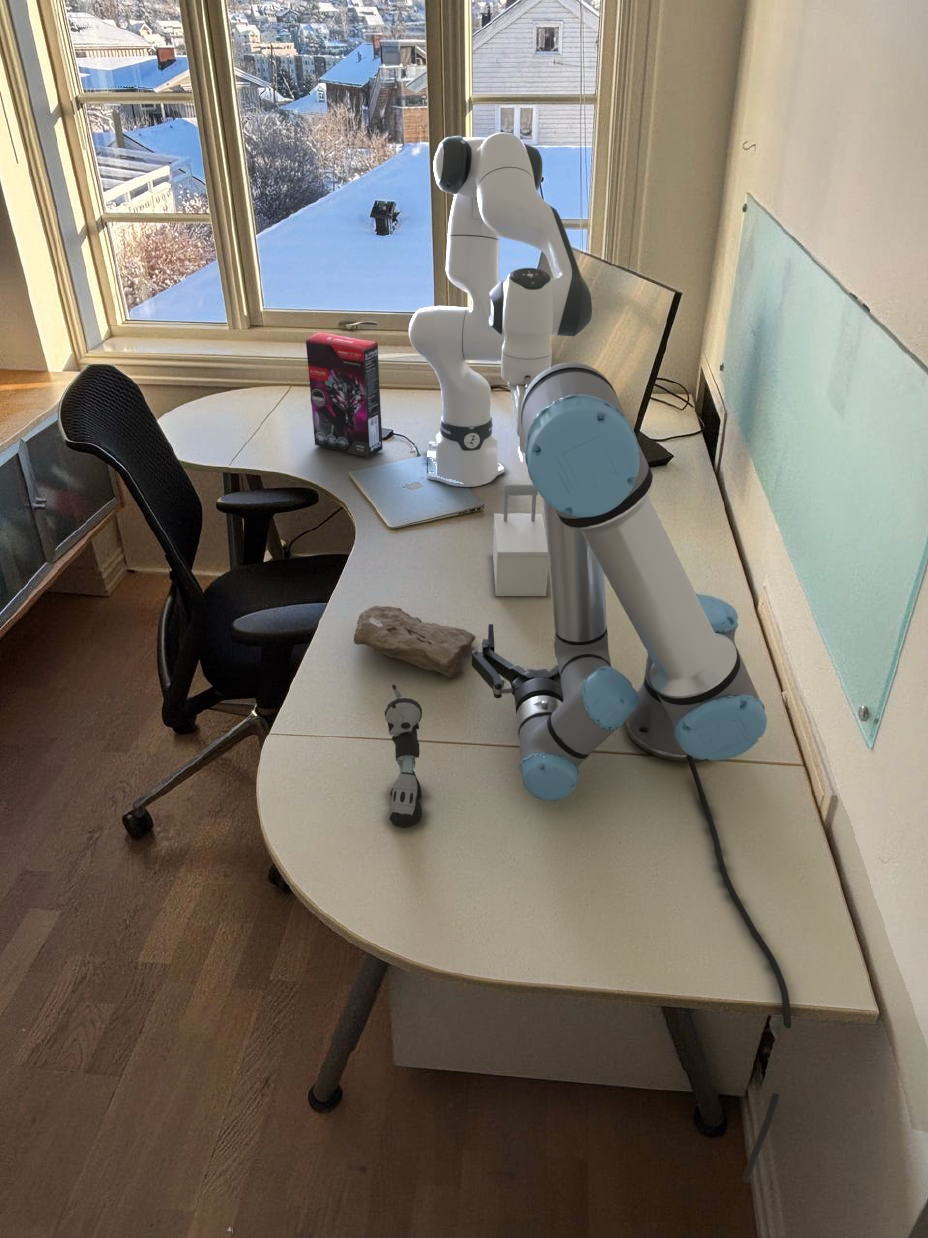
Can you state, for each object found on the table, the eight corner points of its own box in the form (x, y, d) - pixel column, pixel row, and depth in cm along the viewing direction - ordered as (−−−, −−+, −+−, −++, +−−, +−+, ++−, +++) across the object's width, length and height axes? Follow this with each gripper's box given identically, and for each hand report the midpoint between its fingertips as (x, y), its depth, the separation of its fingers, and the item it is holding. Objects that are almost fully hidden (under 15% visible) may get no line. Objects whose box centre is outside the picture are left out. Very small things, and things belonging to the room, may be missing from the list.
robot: (425, 859, 121) (422, 744, 110) (387, 860, 121) (381, 745, 110) (423, 757, 137) (420, 648, 126) (390, 758, 137) (385, 649, 126)
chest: (492, 557, 187) (494, 519, 183) (539, 557, 188) (542, 519, 183) (495, 596, 175) (497, 556, 170) (546, 596, 175) (548, 556, 170)
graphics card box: (312, 446, 233) (302, 338, 217) (328, 436, 238) (320, 330, 223) (369, 459, 226) (363, 349, 211) (384, 449, 231) (380, 341, 216)
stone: (330, 651, 154) (336, 619, 151) (363, 622, 167) (369, 592, 165) (447, 693, 150) (456, 661, 148) (471, 659, 164) (479, 629, 161)
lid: (493, 517, 183) (495, 477, 178) (542, 517, 183) (544, 477, 178) (497, 556, 170) (498, 514, 165) (548, 556, 170) (551, 514, 166)
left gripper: (549, 388, 154) (544, 464, 162) (539, 349, 171) (535, 420, 179) (511, 387, 154) (508, 464, 162) (505, 349, 171) (503, 420, 179)
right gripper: (628, 692, 134) (607, 612, 152) (457, 692, 134) (456, 612, 152) (622, 731, 139) (603, 649, 156) (457, 731, 138) (456, 649, 156)
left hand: (522, 440), depth 171 cm, fingers open, 8 cm apart
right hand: (531, 630), depth 154 cm, fingers open, 13 cm apart
